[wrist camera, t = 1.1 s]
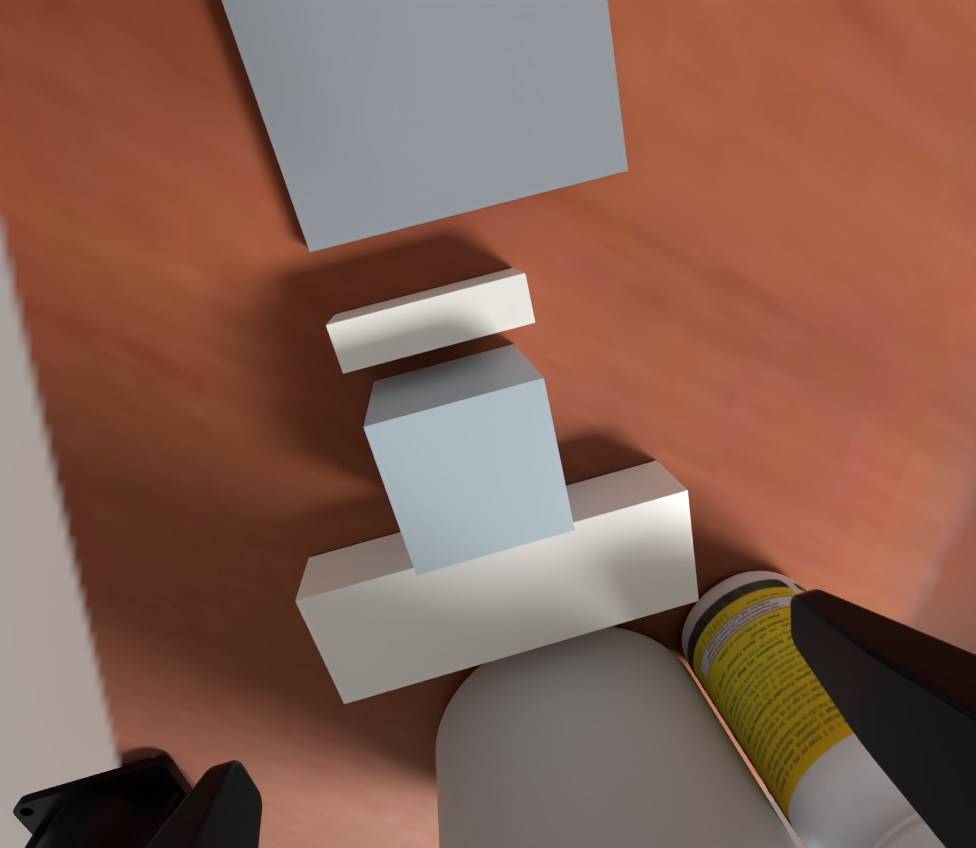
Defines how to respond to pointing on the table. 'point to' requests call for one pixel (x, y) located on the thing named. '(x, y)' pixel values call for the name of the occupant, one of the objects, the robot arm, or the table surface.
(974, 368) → the table surface
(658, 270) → the table surface
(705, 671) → the pill bottle
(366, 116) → the mat
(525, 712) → the cylinder vase
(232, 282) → the table surface
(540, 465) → the pale blue cube
